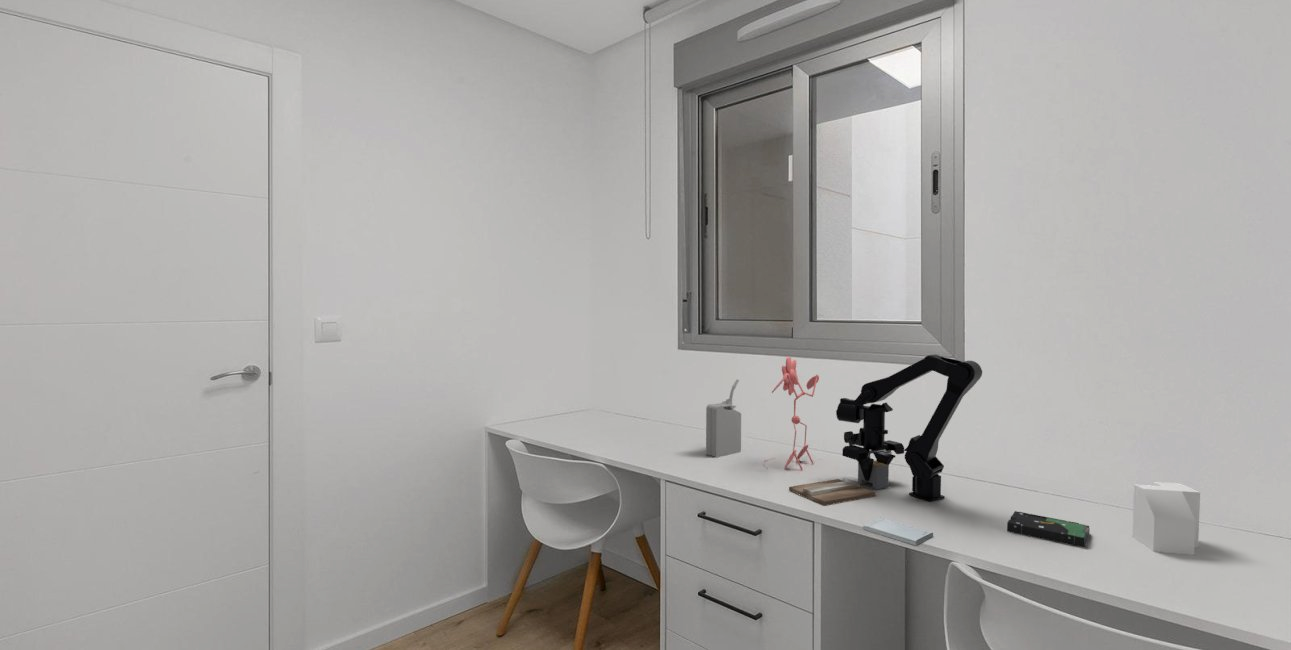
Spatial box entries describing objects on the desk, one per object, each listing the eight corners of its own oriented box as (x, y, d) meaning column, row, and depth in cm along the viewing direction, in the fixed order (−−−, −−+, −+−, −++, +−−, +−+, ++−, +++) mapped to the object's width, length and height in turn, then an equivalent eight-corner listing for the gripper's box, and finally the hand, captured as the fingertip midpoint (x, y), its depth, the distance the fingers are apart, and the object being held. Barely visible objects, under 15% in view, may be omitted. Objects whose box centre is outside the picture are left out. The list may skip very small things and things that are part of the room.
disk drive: (1006, 534, 140) (1086, 550, 130) (1006, 522, 140) (1086, 537, 130) (1014, 521, 148) (1089, 536, 139) (1014, 510, 148) (1089, 523, 138)
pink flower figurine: (825, 459, 204) (824, 354, 203) (794, 476, 183) (793, 360, 182) (782, 453, 213) (781, 353, 212) (748, 469, 192) (746, 358, 191)
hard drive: (933, 531, 137) (881, 516, 146) (915, 540, 131) (863, 524, 141) (933, 539, 137) (881, 523, 146) (915, 548, 132) (862, 531, 141)
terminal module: (888, 487, 173) (888, 464, 173) (876, 489, 171) (877, 465, 171) (869, 480, 179) (869, 458, 179) (857, 482, 177) (858, 460, 177)
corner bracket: (1178, 536, 138) (1180, 483, 137) (1212, 556, 126) (1215, 499, 126) (1124, 531, 140) (1126, 480, 139) (1153, 551, 129) (1155, 495, 128)
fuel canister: (735, 448, 219) (735, 378, 218) (745, 450, 216) (746, 380, 215) (705, 454, 209) (705, 382, 209) (716, 457, 206) (716, 383, 205)
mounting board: (875, 495, 165) (875, 488, 165) (824, 505, 157) (824, 497, 157) (838, 482, 178) (838, 475, 178) (789, 490, 170) (789, 483, 170)
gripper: (875, 418, 186) (875, 468, 186) (828, 423, 178) (828, 476, 178) (906, 424, 176) (905, 478, 176) (857, 430, 168) (856, 486, 168)
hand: (873, 479), depth 175 cm, fingers closed on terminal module, 4 cm apart
